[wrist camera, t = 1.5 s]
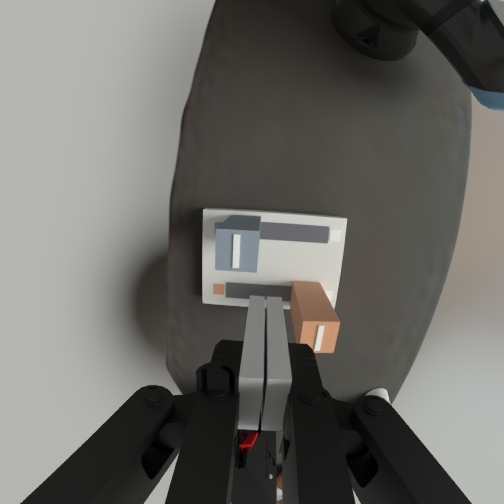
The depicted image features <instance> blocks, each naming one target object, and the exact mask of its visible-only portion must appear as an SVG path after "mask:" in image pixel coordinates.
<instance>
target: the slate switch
mask: <svg viewBox="0 0 504 504" xmlns="http://www.w3.org/2000/svg"><path fill="white" fill-rule="evenodd" d="M260 225H261V216H249V215H230V216H229V217H228V218H227V219H226V220H225V221H224V222H223V223H222V224H220V225H219V226H218V227H217V228H216V243H215V270H223V271H237V272H252V273H257V265H258V254H259V242H260Z"/></svg>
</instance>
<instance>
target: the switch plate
mask: <svg viewBox="0 0 504 504" xmlns="http://www.w3.org/2000/svg"><path fill="white" fill-rule="evenodd" d="M230 215H249V216H261V225H260V242H259V254H258V265H257V273H252V272H237V271H223V270H215V243H216V228H217V227H218V226H219V225H220V224H222V223H223V222H224V221H225V220H226V219H227V218H228V217H229V216H230ZM346 225H347V219H346V218H344V217H340V216H329V215H318V214H305V213H292V212H278V211H262V210H245V209H224V208H205V209H203V242H202V294H203V303H207V304H219V305H231V306H244V307H249V300H250V295H252V296H265V308H266V303H267V296H268V297H282V304H283V309H290V300H291V291H292V282H293V281H300V282H320V284H321V286H322V288H323V289H324V291H325V293H326V295H327V297H328V299H329V301H330V303H331V305H332V307H333V309H334V308H335V303H336V297H337V291H338V285H339V279H340V272H341V265H342V258H343V250H344V242H345V234H346Z"/></svg>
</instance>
